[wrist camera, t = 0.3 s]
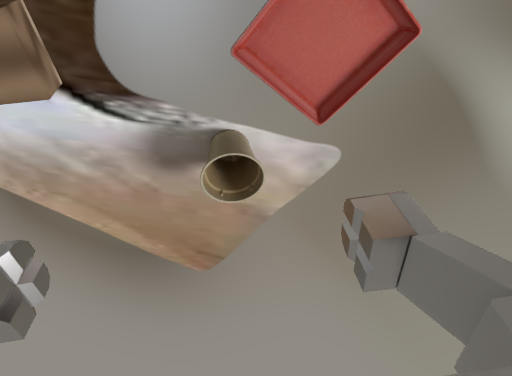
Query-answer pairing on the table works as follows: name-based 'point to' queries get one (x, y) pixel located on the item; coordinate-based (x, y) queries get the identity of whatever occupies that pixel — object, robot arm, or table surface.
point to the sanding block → (23, 58)
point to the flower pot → (231, 169)
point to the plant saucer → (324, 48)
